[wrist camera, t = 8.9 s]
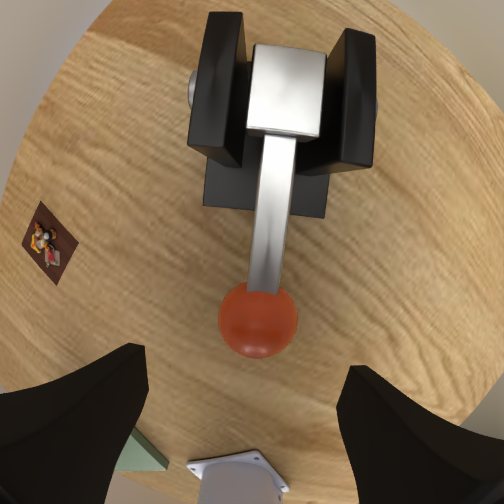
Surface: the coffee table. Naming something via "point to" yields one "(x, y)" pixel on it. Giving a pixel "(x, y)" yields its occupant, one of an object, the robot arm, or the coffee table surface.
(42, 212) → the diorama
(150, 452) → the control block
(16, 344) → the coffee table surface
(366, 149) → the bracket
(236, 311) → the lever
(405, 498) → the robot arm
